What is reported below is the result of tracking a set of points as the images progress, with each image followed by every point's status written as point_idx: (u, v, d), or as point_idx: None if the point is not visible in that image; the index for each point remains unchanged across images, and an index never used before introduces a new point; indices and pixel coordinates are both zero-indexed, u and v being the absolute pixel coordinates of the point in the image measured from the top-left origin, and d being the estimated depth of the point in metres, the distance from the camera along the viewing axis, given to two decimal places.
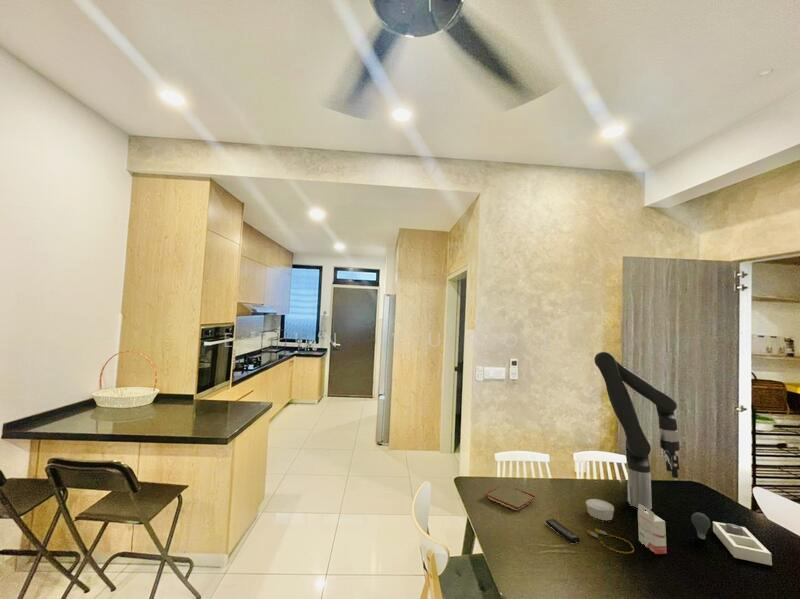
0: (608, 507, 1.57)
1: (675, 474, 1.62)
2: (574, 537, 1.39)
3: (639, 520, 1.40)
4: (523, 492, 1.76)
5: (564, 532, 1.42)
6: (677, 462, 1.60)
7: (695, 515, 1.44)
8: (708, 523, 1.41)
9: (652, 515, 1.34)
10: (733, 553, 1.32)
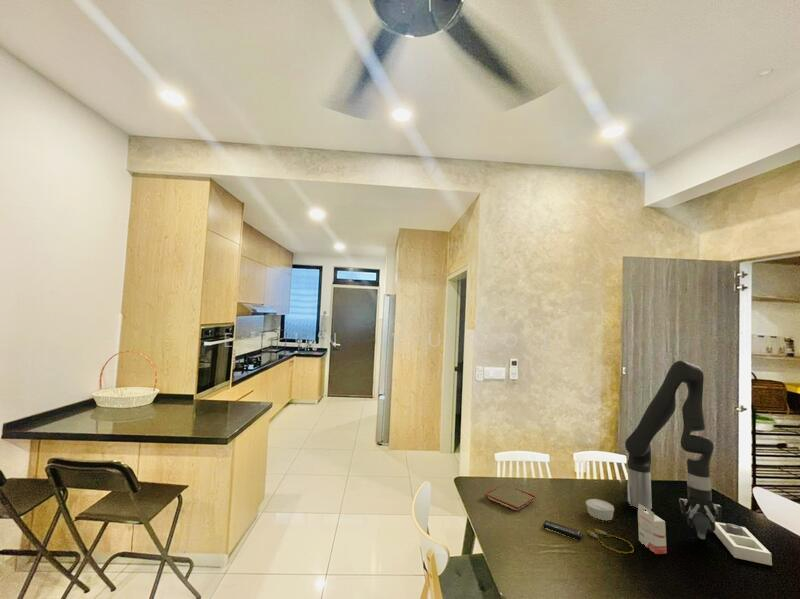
0: (608, 507, 1.57)
1: None
2: (580, 533, 1.41)
3: (639, 520, 1.40)
4: (523, 492, 1.77)
5: (569, 531, 1.43)
6: None
7: (695, 515, 1.44)
8: (708, 523, 1.41)
9: (652, 515, 1.34)
10: (733, 553, 1.32)
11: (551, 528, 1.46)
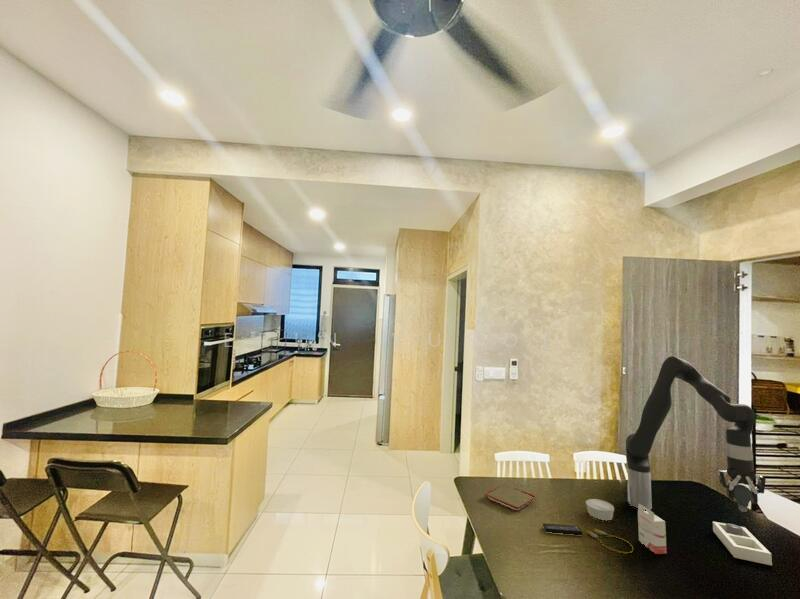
0: (608, 507, 1.57)
1: None
2: (578, 528, 1.45)
3: (639, 520, 1.40)
4: (523, 492, 1.77)
5: (570, 529, 1.45)
6: None
7: (735, 487, 1.37)
8: (750, 494, 1.34)
9: (652, 515, 1.34)
10: (733, 553, 1.32)
11: (554, 531, 1.44)
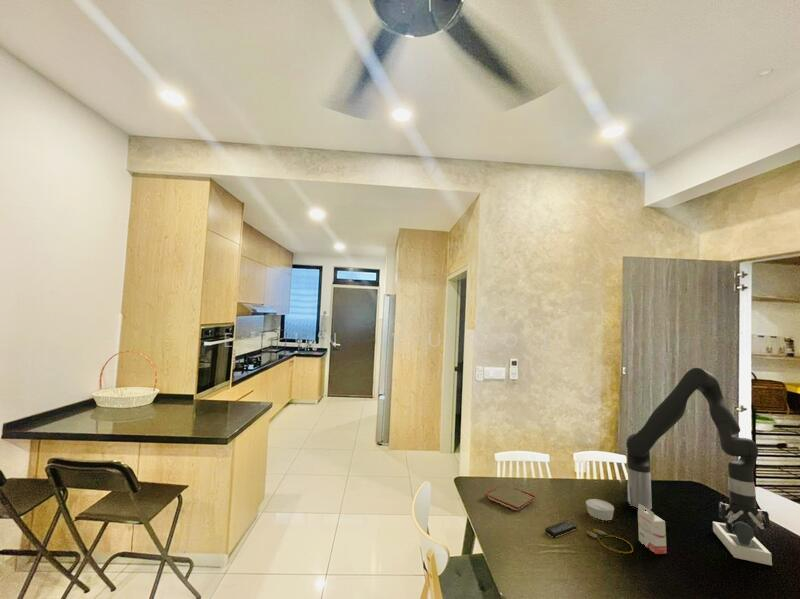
0: (608, 507, 1.57)
1: None
2: (571, 522, 1.50)
3: (639, 520, 1.40)
4: (523, 492, 1.77)
5: (567, 526, 1.47)
6: None
7: (737, 524, 1.35)
8: (752, 533, 1.32)
9: (652, 515, 1.34)
10: (733, 553, 1.32)
11: (559, 533, 1.43)
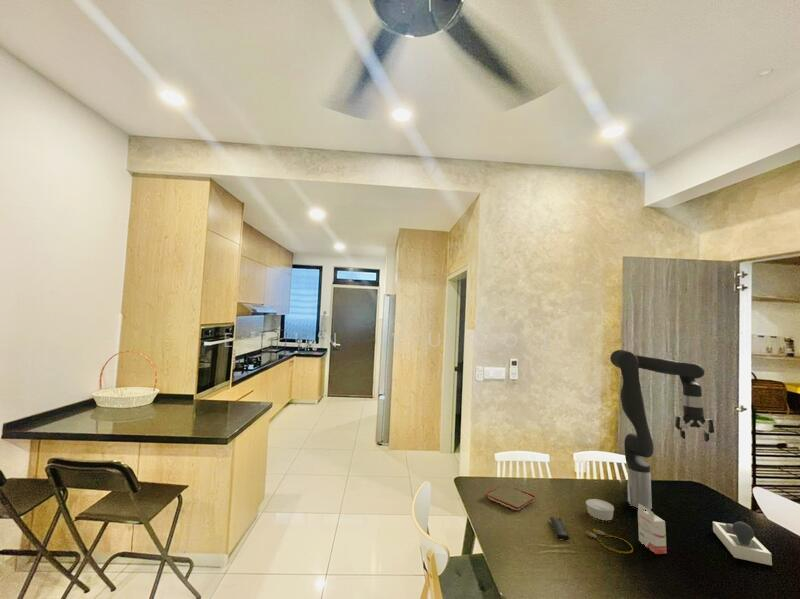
0: (608, 507, 1.57)
1: None
2: (555, 518, 1.53)
3: (639, 520, 1.40)
4: (523, 492, 1.77)
5: (560, 523, 1.49)
6: None
7: (737, 524, 1.35)
8: (752, 533, 1.32)
9: (652, 515, 1.34)
10: (733, 553, 1.32)
11: None
